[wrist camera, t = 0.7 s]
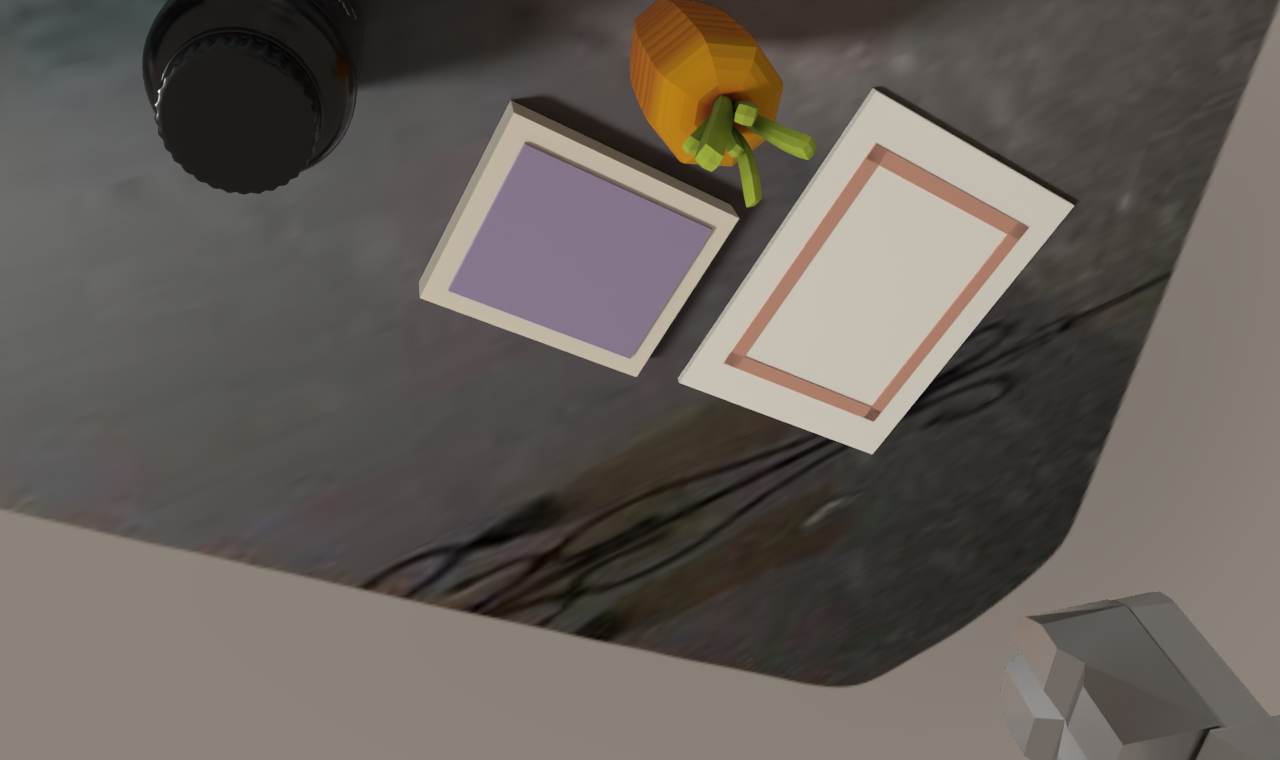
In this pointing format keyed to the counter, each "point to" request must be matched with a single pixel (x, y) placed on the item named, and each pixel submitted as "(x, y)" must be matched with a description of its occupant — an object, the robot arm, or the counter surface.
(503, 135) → the ink pad
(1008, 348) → the counter surface
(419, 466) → the counter surface
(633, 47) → the carrot
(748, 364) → the print card
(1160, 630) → the robot arm
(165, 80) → the supplement bottle
